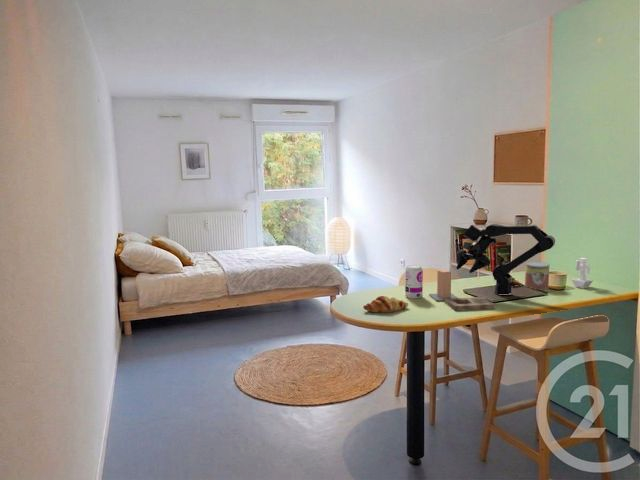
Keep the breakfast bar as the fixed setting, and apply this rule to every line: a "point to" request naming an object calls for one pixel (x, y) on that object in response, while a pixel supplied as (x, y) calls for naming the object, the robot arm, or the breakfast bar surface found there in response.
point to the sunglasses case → (514, 282)
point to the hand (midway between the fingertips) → (463, 270)
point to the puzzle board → (469, 303)
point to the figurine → (582, 274)
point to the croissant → (385, 305)
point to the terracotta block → (444, 283)
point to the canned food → (537, 275)
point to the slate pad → (441, 297)
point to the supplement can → (413, 281)
